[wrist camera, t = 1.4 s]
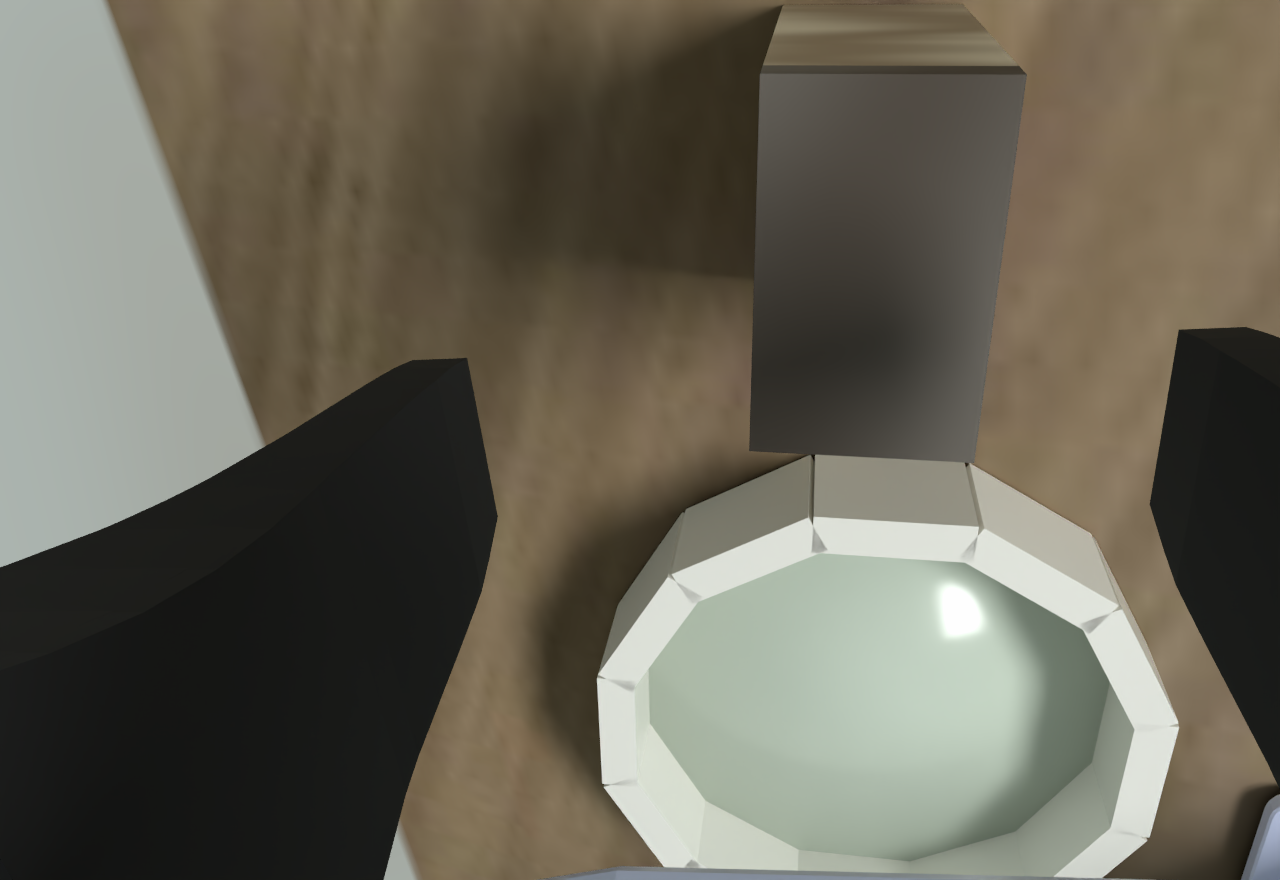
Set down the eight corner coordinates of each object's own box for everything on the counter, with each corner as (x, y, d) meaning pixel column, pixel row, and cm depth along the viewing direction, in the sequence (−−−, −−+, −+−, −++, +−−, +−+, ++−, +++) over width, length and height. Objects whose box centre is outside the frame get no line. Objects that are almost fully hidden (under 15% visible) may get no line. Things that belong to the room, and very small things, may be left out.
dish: (1189, 473, 22) (1228, 541, 20) (1090, 884, 27) (1112, 973, 25) (610, 442, 23) (588, 502, 21) (625, 835, 29) (608, 915, 27)
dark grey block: (962, 3, 19) (1026, 75, 12) (932, 285, 21) (974, 463, 15) (783, 4, 19) (759, 73, 13) (772, 281, 21) (749, 450, 15)
